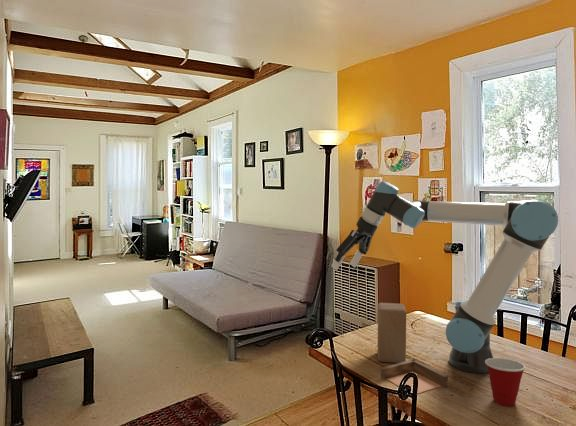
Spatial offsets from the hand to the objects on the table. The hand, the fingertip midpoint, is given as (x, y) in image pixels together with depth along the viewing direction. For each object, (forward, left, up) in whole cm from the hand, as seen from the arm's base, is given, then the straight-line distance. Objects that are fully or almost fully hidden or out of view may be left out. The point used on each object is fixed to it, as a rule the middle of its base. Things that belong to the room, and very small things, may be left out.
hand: (343, 266), depth 160 cm
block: (-18, +6, -34) cm, 39 cm away
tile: (-21, +26, -34) cm, 47 cm away
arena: (-21, +26, -34) cm, 47 cm away
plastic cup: (-45, +37, -34) cm, 67 cm away
